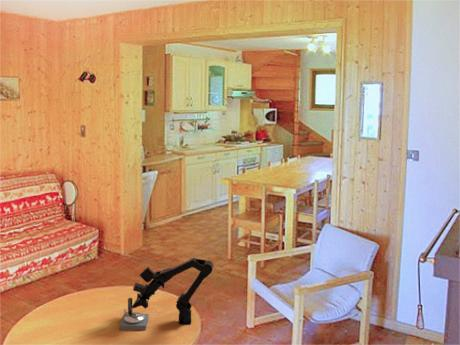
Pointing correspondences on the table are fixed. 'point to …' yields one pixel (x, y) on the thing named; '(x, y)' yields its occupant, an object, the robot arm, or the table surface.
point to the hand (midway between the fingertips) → (132, 307)
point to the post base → (129, 326)
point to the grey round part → (133, 315)
